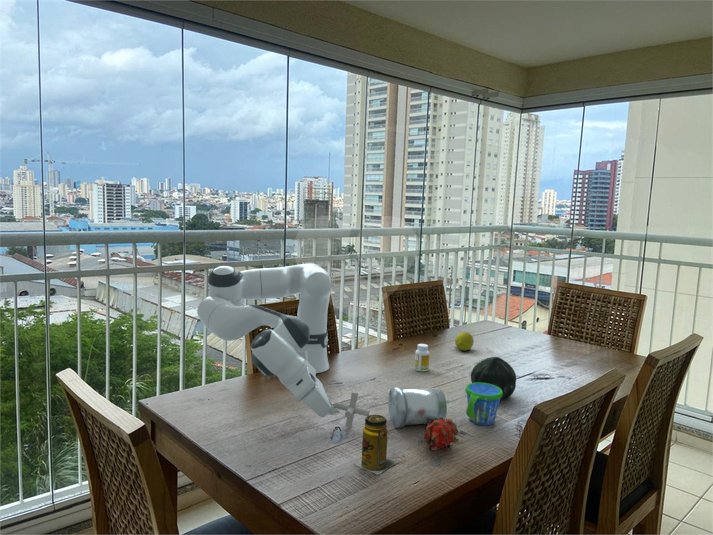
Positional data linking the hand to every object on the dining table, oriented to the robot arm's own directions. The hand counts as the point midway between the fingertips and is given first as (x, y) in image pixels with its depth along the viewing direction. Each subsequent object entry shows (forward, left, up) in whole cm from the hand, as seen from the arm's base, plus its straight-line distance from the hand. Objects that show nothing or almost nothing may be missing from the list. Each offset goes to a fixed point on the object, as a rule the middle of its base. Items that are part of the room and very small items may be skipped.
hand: (333, 411), depth 147 cm
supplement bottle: (+16, +62, -5) cm, 64 cm away
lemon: (+30, +97, -5) cm, 102 cm away
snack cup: (+40, +21, -5) cm, 45 cm away
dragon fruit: (+30, -1, -5) cm, 30 cm away
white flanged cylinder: (+22, +13, -5) cm, 25 cm away
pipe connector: (+4, +3, -5) cm, 7 cm away
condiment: (+16, -15, -5) cm, 22 cm away
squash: (+43, +44, -5) cm, 62 cm away
